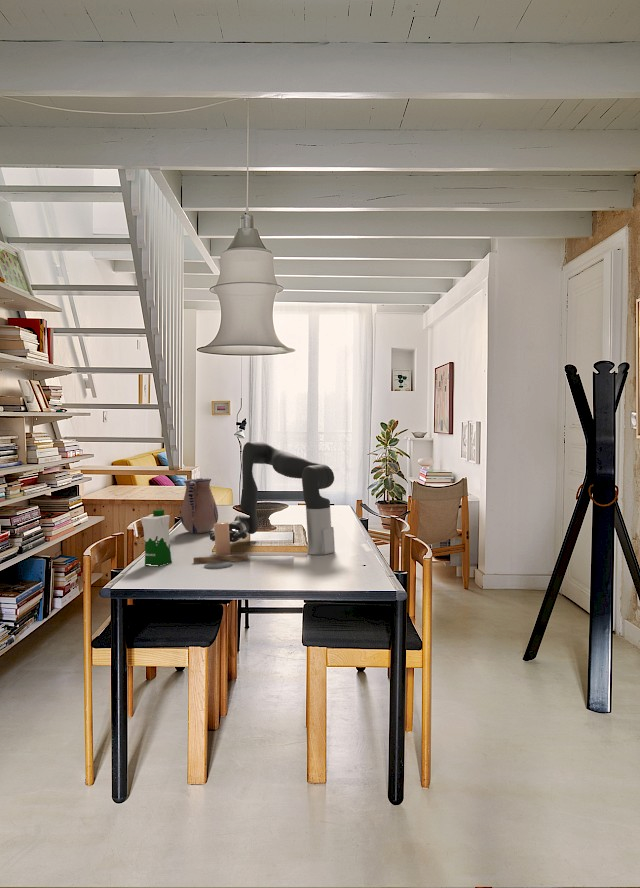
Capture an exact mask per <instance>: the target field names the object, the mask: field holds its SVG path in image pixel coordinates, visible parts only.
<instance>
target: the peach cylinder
mask: <svg viewBox="0 0 640 888" xmlns="http://www.w3.org/2000/svg"><path fill="white" fill-rule="evenodd" d="M229 524H230V523H229V522H226V521H225V522H224V521H222V522H217V523H215V524H214V528H213V532H215V541H214V544H215V547H214V548H215V556H223V555H232V553H231V552H232V551H231V542H230V534H229Z"/></svg>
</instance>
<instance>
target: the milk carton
mask: <svg viewBox="0 0 640 888" xmlns="http://www.w3.org/2000/svg"><path fill="white" fill-rule="evenodd" d="M170 516H171V515H170V514H168V515H167V514H165V510H164V509H154V510H152V515H146V516H144V517H140V521H141V524H142V528H143V539H144V540H143V541H144V565H145V564H151V565H158V566H160V565H163V564H166V565H168V564H167V563H169V564H172V563H171V562H172V555H171V554H172V553H171V541H170V540H171V539H170V518H171V517H170ZM163 566H164V565H163ZM160 567H161V566H160Z"/></svg>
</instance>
